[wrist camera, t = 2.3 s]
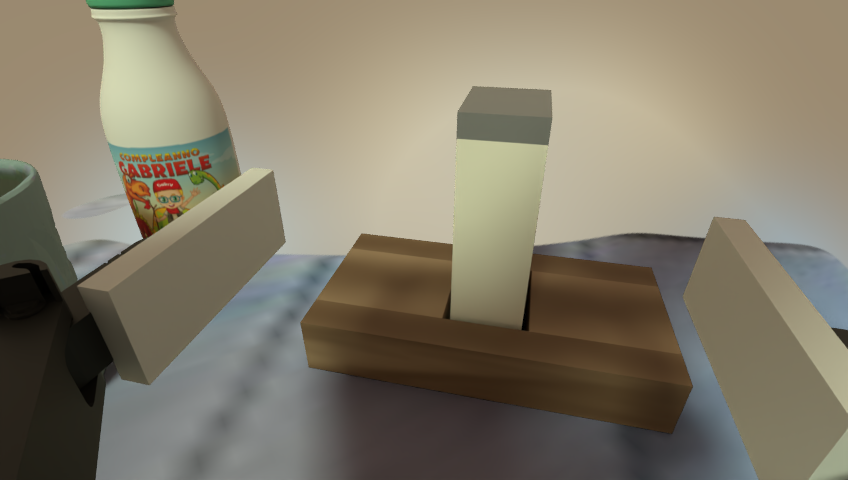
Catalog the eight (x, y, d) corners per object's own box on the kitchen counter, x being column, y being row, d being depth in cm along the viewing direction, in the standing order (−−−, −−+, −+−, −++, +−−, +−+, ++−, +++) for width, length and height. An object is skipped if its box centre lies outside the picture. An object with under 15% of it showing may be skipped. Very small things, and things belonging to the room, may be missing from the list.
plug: (515, 370, 27) (552, 117, 19) (448, 359, 27) (457, 111, 20) (519, 315, 31) (551, 90, 23) (461, 307, 32) (473, 86, 24)
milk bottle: (157, 247, 38) (57, -25, 28) (251, 227, 41) (192, -26, 31) (155, 298, 32) (27, -23, 22) (265, 271, 35) (198, -25, 25)
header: (671, 433, 23) (692, 386, 21) (309, 367, 27) (300, 322, 25) (638, 309, 31) (651, 267, 29) (365, 272, 35) (361, 233, 33)
